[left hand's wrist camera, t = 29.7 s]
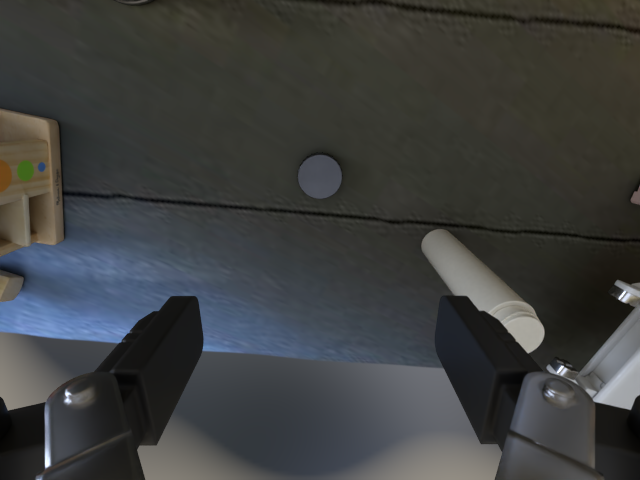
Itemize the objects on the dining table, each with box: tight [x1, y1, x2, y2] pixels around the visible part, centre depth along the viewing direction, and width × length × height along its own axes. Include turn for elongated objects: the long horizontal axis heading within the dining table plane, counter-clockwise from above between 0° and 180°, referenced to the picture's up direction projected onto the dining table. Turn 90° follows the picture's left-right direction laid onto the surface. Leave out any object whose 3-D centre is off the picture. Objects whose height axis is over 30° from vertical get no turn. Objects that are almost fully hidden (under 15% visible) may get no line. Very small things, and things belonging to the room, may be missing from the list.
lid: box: [297, 152, 343, 199], centre depth 38 cm, size 5×5×2 cm
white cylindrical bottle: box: [421, 229, 544, 353], centre depth 33 cm, size 4×4×19 cm
